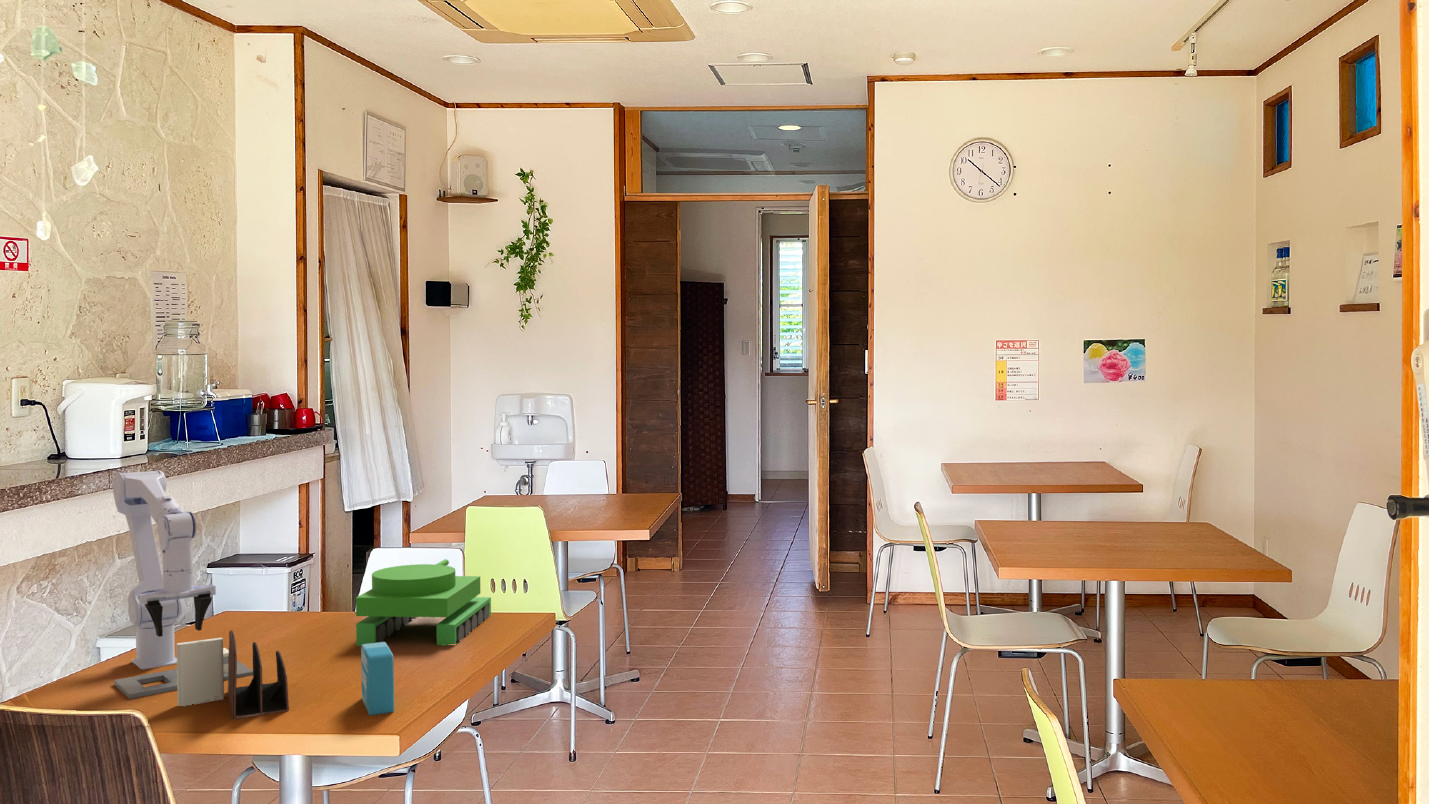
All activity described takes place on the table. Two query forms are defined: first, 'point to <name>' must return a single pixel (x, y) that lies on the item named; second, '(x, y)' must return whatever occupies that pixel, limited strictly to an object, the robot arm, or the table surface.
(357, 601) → the tank
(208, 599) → the robot arm
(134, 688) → the jack panel
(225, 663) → the plug
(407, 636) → the table surface
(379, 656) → the data package
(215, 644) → the external hard drive
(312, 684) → the table surface
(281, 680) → the letter holder
